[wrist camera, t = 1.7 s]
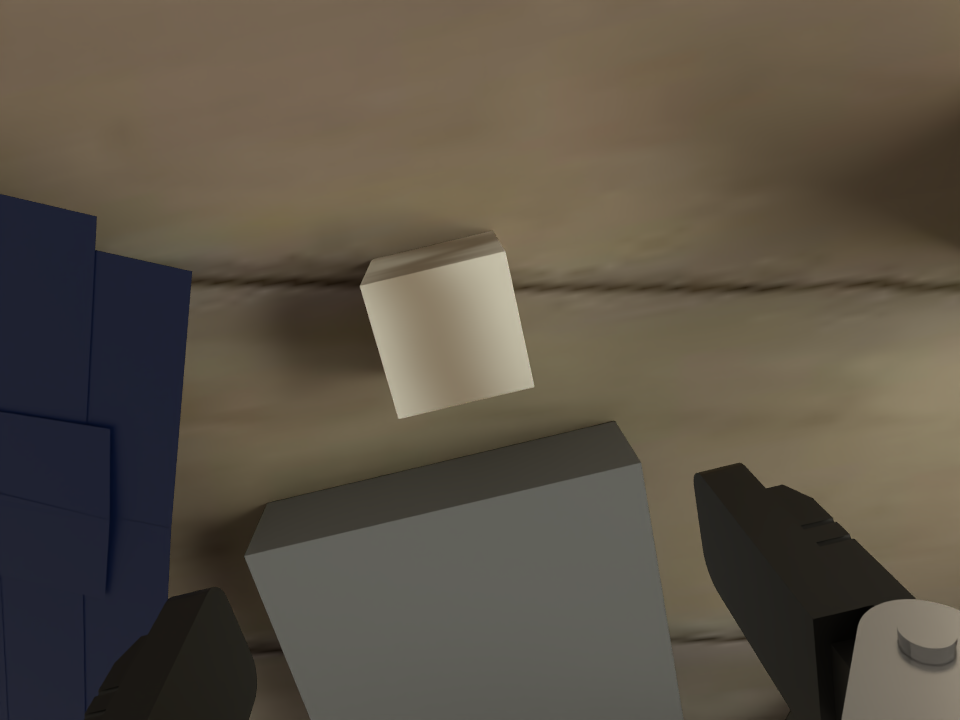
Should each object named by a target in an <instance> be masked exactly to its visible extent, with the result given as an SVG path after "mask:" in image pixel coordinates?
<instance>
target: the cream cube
mask: <svg viewBox="0 0 960 720" xmlns="http://www.w3.org/2000/svg"><path fill="white" fill-rule="evenodd" d="M360 289H361V292H362V295H363V299H364V302H365V306H366V309H367V313H368V316H369V319H370V323H371V326H372V330H373V333H374V336H375V340H376V343H377V347H378V350H379V354H380V357H381V360H382V364H383V367H384V371H385V374H386V378H387V381H388V384H389V388H390V391H391V395H392V398H393V401H394V405H395V408H396V412H397V415H398V419H401V418H406V417H410V416H414V415H418V414H422V413H427V412H431V411H435V410H439V409H444V408H448V407H452V406H456V405H460V404H465V403H469V402H473V401H477V400H481V399H486V398H490V397H494V396H498V395H503V394H507V393H511V392H515V391H519V390H524V389H528V388H532V387H534V382H533V378H532V373H531V368H530V364H529V359H528V354H527V350H526V345H525V340H524V336H523V331H522V327H521V322H520V317H519V313H518V308H517V303H516V299H515V294H514V289H513V285H512V280H511V276H510V271H509V266H508V262H507V257H506V252H505V250H504V248H503V247H502V245H501V243H500V242H499V240H498V238H497V237H496V235H495V233H494V232H493V231H488V232H484V233H480V234H476V235H472V236H468V237H463V238H459V239H455V240H451V241H447V242H443V243H438V244H434V245H430V246H426V247H422V248H417V249H413V250H409V251H405V252H401V253H397V254H392V255H388V256H384V257H380V258H376V259H372V260H371V262H370V265H369V267H368V269H367V271H366V273H365V276H364V278H363V280H362V282H361V284H360Z"/></svg>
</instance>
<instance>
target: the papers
mask: <svg viewBox="0 0 960 720" xmlns="http://www.w3.org/2000/svg"><path fill="white" fill-rule="evenodd" d="M96 221H97V217H96V216H92V215H88V214H84V213H79V212H75V211H71V210H66V209H62V208H58V207H53V206H49V205H45V204H41V203H36V202H32V201H28V200H23V199H19V198H15V197H10V196H6V195H2V194H0V720H84V719H85V715H84V714H85V712H86V711H87V709H88V707H89V705H90V704H91V702H92V700H93V699H94V697H95V696H98V694H99V693H98V690H99V688H100V687H101V685H102V683H103V682H104V680H105V678H106V677H107V675H108V673H109V671H110V670H111V668H112V666H113V665H114V663H115V662H116V661H117V660H118V659H119V658H120V657H121V656H122V655H123V654H124V653H125V652H126V651H127V650H128V649H129V648H130V647H131V646H132V645H133V644H134V643H135V642H136V641H137V640H138V639H139V638H140V637H141V636H144V635H148V633H149V631H150V629H151V628H152V626H153V624H154V622H155V620H156V619H157V617H158V615H159V613H160V611H161V610H162V608H163V606H164V604H165V603H166V601H167V600H168V584H169V563H170V541H171V523H172V511H173V499H174V487H175V474H176V462H177V450H178V438H179V425H180V413H181V401H182V389H183V376H184V364H185V352H186V339H187V327H188V315H189V303H190V290H191V278H192V271H187V270H183V269H178V268H174V267H169V266H165V265H160V264H156V263H151V262H146V261H142V260H137V259H133V258H128V257H124V256H119V255H115V254H110V253H106V252H101V251H97V250H95V241H96Z"/></svg>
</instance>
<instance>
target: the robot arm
mask: <svg viewBox="0 0 960 720" xmlns="http://www.w3.org/2000/svg"><path fill="white" fill-rule="evenodd" d="M694 489H695V496H696V504H697V511H698V518H699V525H700V532H701V539H702V546H703V553H704V557H705V561H706V565H707V568H708V571H709V574H710V577H711V579H712V582H713V584H714V586H715V588H716V590H717V592H718V593H719V595H720V596H721V598H722V600H723V601H724V603H725V605H726V606H727V608H728V609H729V611H730V613H731V614H732V616H733V617H734V619H735V621H736V622H737V624H738V626H739V627H740V629H741V630H742V632H743V634H744V635H745V637H746V639H747V640H748V642H749V643H750V645H751V647H752V648H753V650H754V651H755V653H756V655H757V656H758V658H759V660H760V661H761V663H762V664H763V666H764V668H765V669H766V671H767V673H768V674H769V676H770V677H771V679H772V681H773V682H774V684H775V685H776V687H777V689H778V690H779V692H780V694H781V695H782V697H783V698H784V700H785V702H786V703H787V705H788V707H789V708H790V710H791V711H792V713H793V715H794V716H795V718H796V719H797V720H960V610H957V609H955V608H953V607H950V606H947V605H944V604H940V603H936V602H931V601H925V600H918V599H916V598H915V597H914V596H912V595H911V594H910V593H909V592H908V591H907V590H906V589H905V588H904V587H903V586H902V585H901V584H900V583H899V582H898V581H897V580H896V579H895V578H894V577H893V576H892V575H891V574H890V573H889V572H888V571H887V570H886V569H885V568H884V567H883V566H882V565H881V564H880V563H879V562H878V561H877V560H875V559H874V558H873V557H872V556H871V555H870V554H869V553H868V552H867V551H866V550H865V549H864V548H863V547H862V546H861V545H860V544H859V543H858V542H857V541H856V540H855V539H851V537H850V534H849V533H848V532H847V531H846V530H845V529H844V528H843V527H842V526H841V525H840V524H838V523H837V522H834V521H833V518H832V517H831V516H830V515H829V514H828V513H827V512H826V511H825V510H824V509H823V508H822V507H821V506H820V505H819V504H818V503H817V502H816V501H815V500H814V499H813V498H811V497H809V496H806V495H804V494H802V493H800V492H798V491H796V490H793V489H791V488H789V487H787V486H785V485H779V486H775V487H771V488H765V487H764V486H763V485H762V484H761V483H760V482H759V480H758V479H757V478H756V477H755V476H754V475H753V474H752V473H751V472H750V471H749V470H748V469H747V468H746V466H744V465H743V464H742V463H736V464H732V465H728V466H724V467H720V468H715V469H711V470H707V471H703V472H699V473H696V474H695V475H694ZM256 689H257V676H256V668H255V664H254V660H253V657H252V655H251V652H250V650H249V648H248V645H247V643H246V641H245V638H244V636H243V634H242V631H241V629H240V627H239V625H238V622H237V620H236V618H235V615H234V613H233V611H232V608H231V606H230V604H229V601H228V599H227V597H226V595H225V593H224V592H223V591H222V590H221V589H220V588H218V587H212V588H208V589H204V590H199V591H195V592H191V593H187V594H183V595H178V596H174V597H171V598H169V599H168V600H167V601H166V603H165V604H164V606H163V608H162V610H161V611H160V613H159V615H158V617H157V619H156V620H155V622H154V624H153V626H152V628H151V629H150V631H149V633H148V635H144V636H141V637H140V638H139V639H138V640H137V641H136V642H135V643H134V644H133V645H132V646H131V647H130V648H129V649H128V650H127V651H126V652H125V653H124V654H123V655H122V656H121V657H120V658H119V659H118V660H117V661H116V662H115V663H114V665H113V666H112V668H111V670H110V671H109V673H108V675H107V677H106V678H105V680H104V682H103V683H102V685H101V687H100V688H99V690H98V693H99V694H98V696H95V697H94V699H93V700H92V702H91V704H90V705H89V707H88V709H87V711H86V712H85V714H84V715H85V719H84V720H249V717H250V714H251V711H252V707H253V704H254V701H255V697H256Z"/></svg>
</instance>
